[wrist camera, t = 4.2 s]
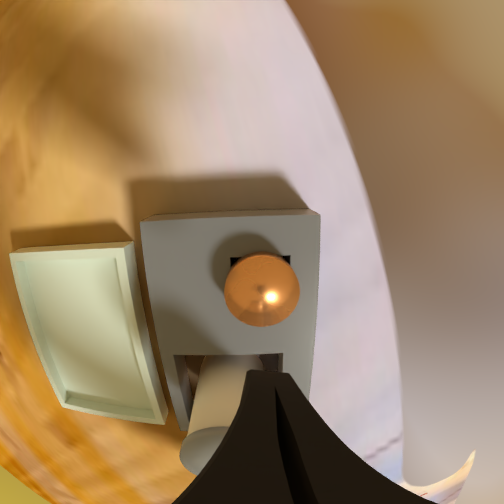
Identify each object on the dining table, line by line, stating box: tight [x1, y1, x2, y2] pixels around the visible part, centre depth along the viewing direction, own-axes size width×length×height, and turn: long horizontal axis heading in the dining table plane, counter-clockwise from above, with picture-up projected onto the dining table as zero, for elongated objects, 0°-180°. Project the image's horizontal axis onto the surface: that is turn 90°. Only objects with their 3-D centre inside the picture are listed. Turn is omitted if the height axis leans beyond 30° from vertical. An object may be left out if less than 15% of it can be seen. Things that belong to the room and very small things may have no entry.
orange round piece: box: [224, 251, 300, 327], centre depth 15 cm, size 4×4×4 cm
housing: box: [140, 209, 320, 431], centre depth 17 cm, size 15×9×2 cm, turn 2°
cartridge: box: [180, 354, 264, 476], centre depth 15 cm, size 5×5×8 cm
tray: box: [9, 241, 169, 425], centre depth 18 cm, size 14×10×2 cm
